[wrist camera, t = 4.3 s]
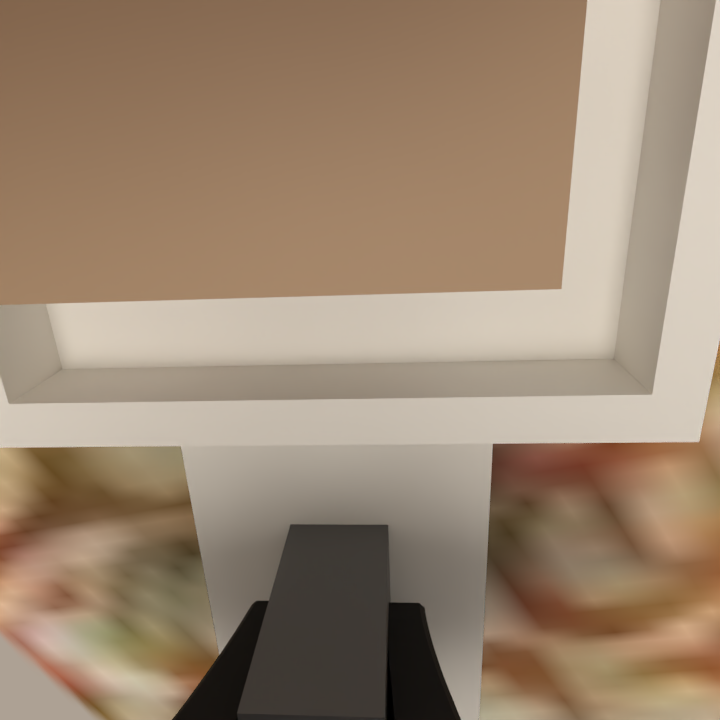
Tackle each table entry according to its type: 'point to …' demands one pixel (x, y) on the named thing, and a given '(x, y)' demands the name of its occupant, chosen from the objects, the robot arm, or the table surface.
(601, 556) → the table surface
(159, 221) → the walnut cube
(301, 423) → the white tray
